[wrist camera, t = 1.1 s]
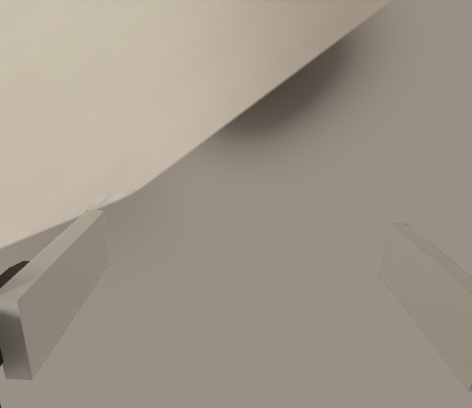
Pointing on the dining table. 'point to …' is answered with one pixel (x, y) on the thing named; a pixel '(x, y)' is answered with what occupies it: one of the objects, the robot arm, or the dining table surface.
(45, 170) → the dining table surface
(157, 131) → the dining table surface
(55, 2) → the dining table surface
